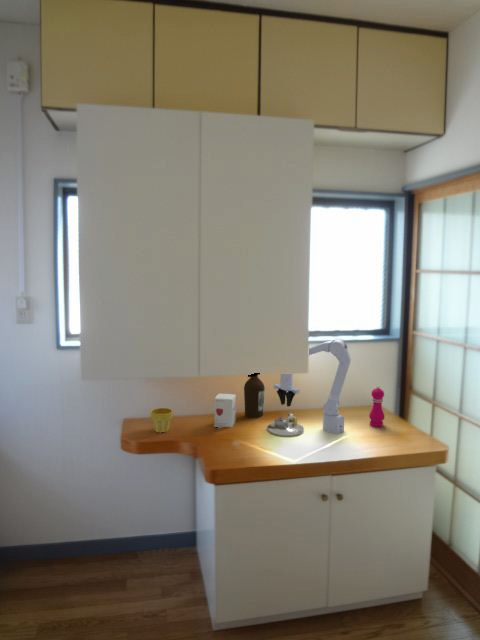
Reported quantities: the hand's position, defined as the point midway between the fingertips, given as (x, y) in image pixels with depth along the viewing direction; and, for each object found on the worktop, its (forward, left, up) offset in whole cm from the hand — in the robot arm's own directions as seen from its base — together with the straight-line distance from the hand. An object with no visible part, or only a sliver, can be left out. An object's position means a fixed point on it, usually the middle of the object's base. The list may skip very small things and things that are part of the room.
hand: (285, 405), depth 226 cm
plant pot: (+37, +47, -11) cm, 61 cm away
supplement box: (+21, +21, -11) cm, 32 cm away
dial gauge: (0, -3, -10) cm, 11 cm away
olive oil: (+20, +1, -11) cm, 23 cm away
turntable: (-5, +7, -9) cm, 13 cm away
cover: (-3, +7, -8) cm, 11 cm away
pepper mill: (-31, -33, -11) cm, 47 cm away
